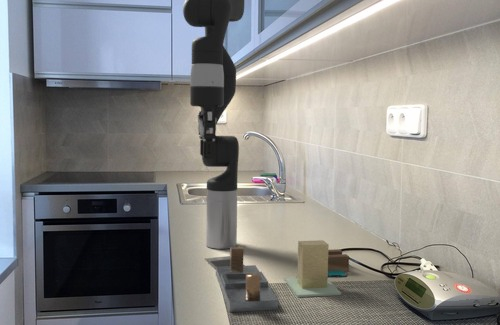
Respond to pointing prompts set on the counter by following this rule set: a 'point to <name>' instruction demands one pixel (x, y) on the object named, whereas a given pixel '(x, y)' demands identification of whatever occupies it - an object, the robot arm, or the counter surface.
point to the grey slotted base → (244, 285)
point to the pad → (312, 289)
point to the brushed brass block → (312, 264)
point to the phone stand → (338, 261)
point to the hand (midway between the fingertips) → (206, 157)
